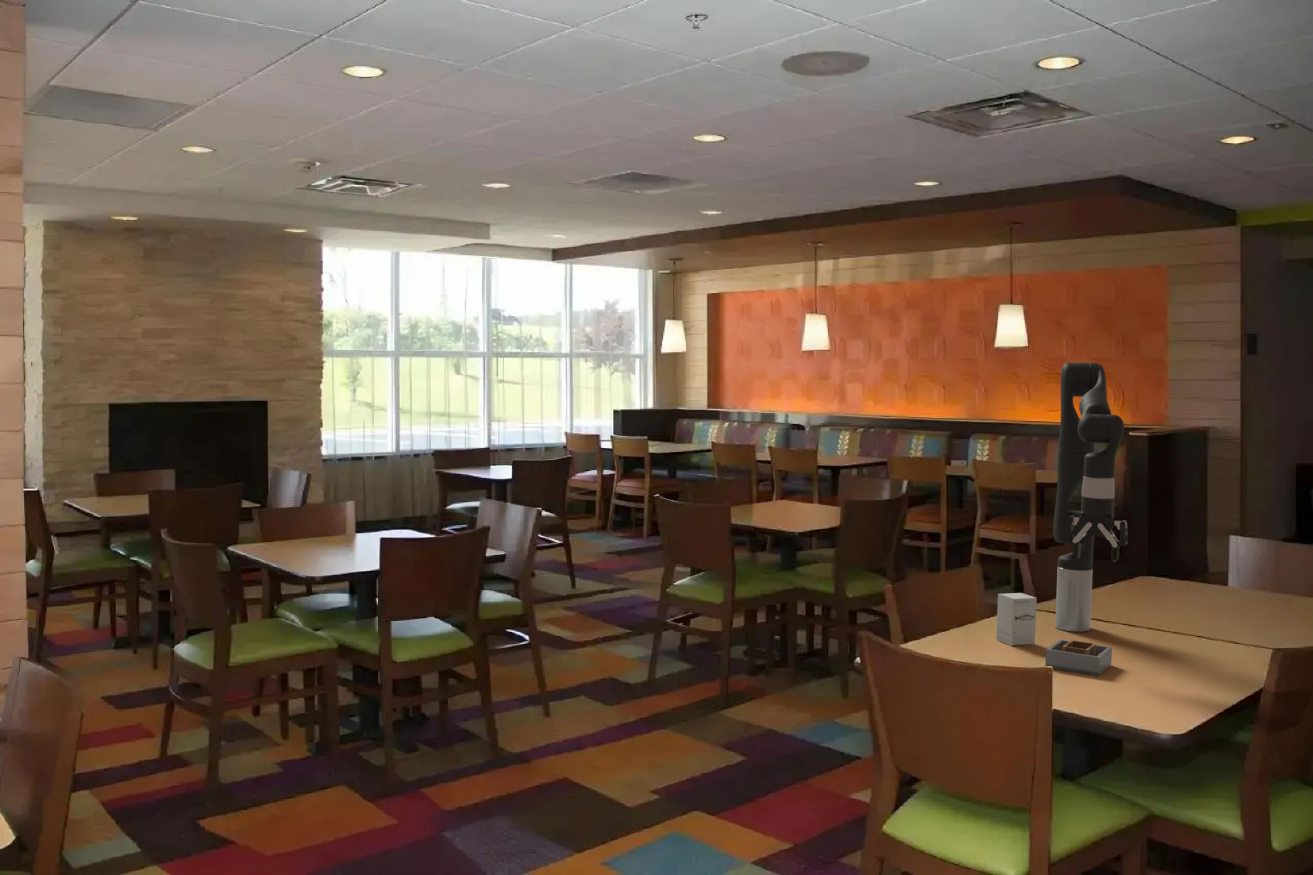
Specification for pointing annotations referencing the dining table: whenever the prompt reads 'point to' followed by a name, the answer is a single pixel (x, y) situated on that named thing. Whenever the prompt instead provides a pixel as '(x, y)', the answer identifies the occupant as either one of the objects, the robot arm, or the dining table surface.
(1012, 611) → the supplement box
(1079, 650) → the small crate
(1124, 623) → the dining table surface
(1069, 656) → the box
